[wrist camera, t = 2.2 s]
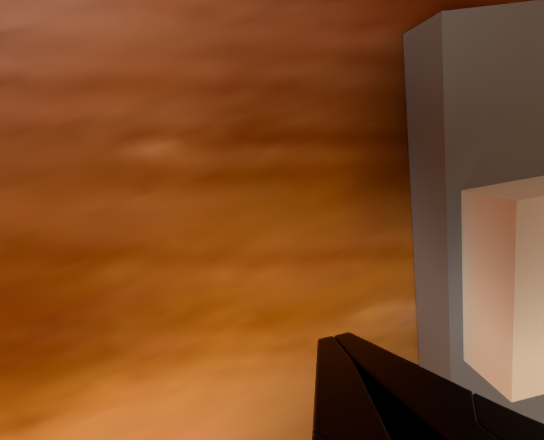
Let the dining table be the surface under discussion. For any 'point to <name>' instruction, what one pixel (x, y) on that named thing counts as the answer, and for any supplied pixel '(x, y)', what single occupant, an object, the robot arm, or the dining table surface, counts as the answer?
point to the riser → (467, 156)
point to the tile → (504, 285)
